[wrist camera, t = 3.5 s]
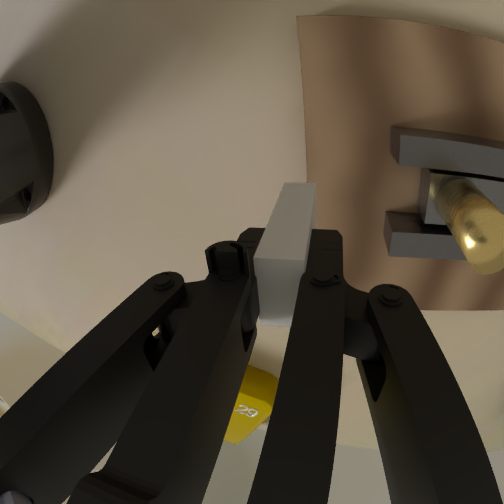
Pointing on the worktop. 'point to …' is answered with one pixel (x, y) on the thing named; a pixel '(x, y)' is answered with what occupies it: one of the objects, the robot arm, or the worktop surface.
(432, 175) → the bolt
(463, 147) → the bolt housing
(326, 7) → the worktop surface
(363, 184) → the door and jamb
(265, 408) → the element tile
